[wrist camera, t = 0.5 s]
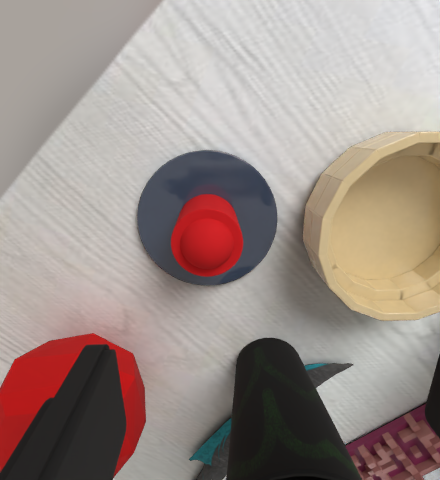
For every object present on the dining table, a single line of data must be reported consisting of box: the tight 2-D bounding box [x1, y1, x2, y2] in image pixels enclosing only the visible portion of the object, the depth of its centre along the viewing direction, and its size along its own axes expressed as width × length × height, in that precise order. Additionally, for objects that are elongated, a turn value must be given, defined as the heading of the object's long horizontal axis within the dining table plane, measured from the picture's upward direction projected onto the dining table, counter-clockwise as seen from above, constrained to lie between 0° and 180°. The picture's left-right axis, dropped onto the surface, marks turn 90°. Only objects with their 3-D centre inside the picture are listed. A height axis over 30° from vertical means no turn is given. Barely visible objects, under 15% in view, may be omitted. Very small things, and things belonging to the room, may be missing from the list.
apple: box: [0, 333, 146, 478], centre depth 22 cm, size 11×11×10 cm
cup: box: [226, 338, 362, 480], centre depth 21 cm, size 8×8×12 cm
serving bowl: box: [303, 132, 440, 321], centre depth 21 cm, size 12×12×4 cm
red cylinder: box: [171, 194, 243, 277], centre depth 19 cm, size 4×4×6 cm
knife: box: [189, 363, 354, 480], centre depth 29 cm, size 24×1×5 cm
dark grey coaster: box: [137, 150, 277, 285], centre depth 22 cm, size 10×10×1 cm
